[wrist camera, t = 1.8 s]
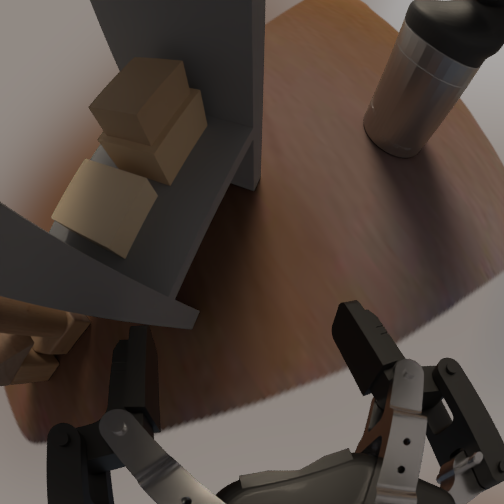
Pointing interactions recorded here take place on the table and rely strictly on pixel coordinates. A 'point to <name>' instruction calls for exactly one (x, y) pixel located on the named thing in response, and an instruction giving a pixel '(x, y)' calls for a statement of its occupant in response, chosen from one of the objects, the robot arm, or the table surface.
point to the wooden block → (34, 340)
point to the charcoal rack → (149, 163)
